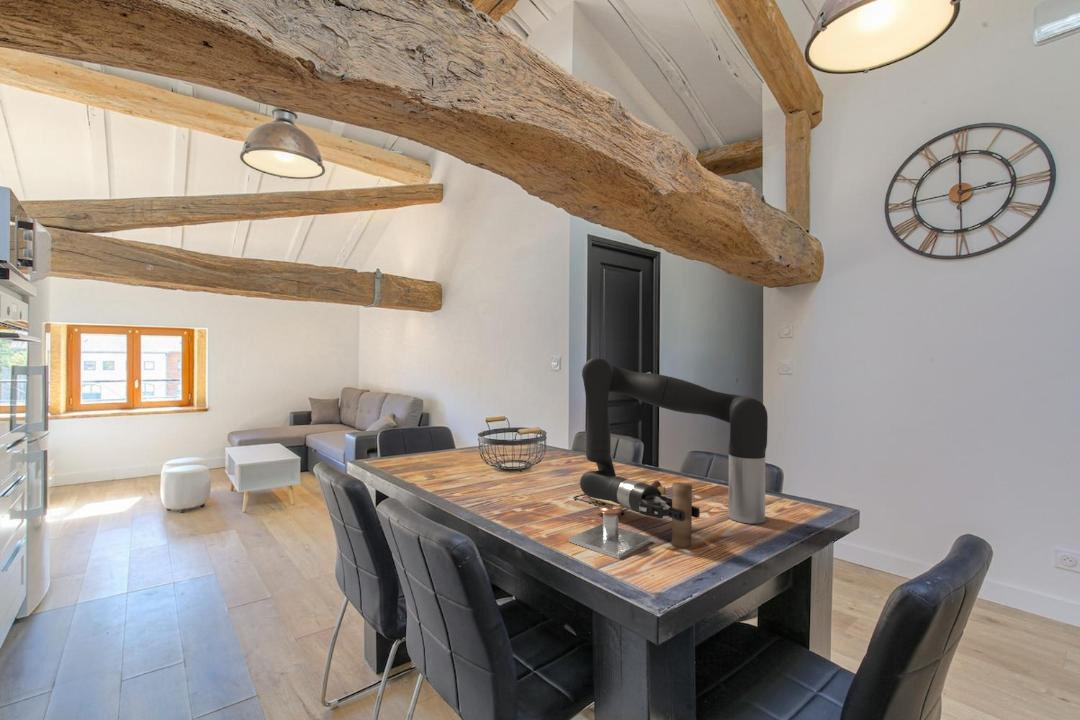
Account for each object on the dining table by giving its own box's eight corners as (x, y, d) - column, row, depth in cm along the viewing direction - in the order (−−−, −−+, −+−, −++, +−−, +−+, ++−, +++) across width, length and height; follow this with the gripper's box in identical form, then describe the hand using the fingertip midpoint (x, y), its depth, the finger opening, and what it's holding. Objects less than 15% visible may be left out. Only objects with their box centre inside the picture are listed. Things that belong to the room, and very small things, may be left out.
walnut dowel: (677, 539, 116) (677, 481, 116) (694, 544, 113) (695, 484, 113) (668, 544, 112) (668, 484, 112) (686, 550, 109) (686, 488, 109)
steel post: (603, 527, 124) (603, 496, 124) (652, 541, 114) (652, 507, 114) (568, 542, 114) (569, 508, 114) (618, 558, 104) (619, 521, 104)
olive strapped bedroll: (644, 475, 170) (673, 477, 166) (643, 488, 169) (673, 491, 165) (631, 484, 150) (663, 488, 147) (630, 499, 150) (663, 503, 146)
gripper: (617, 486, 121) (669, 503, 106) (658, 479, 128) (712, 494, 114) (617, 516, 121) (669, 537, 106) (658, 507, 128) (711, 525, 114)
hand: (691, 514), depth 110 cm, fingers closed on walnut dowel, 4 cm apart
